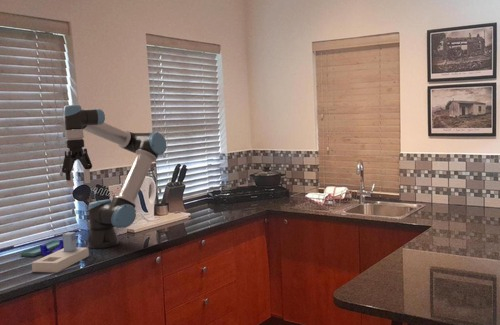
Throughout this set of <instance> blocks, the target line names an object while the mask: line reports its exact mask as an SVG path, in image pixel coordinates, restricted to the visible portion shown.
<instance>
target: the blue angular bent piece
mask: <svg viewBox="0 0 500 325" xmlns="http://www.w3.org/2000/svg"><path fill="white" fill-rule="evenodd" d="M59 240H60V243H59V246H58V247H57V248H55V249H53V250H50V251H49V250H48V249H47V246H46V245H44V244H45V243H42V244H40V250H41V254H40V255H41V256H44V257H45V256H47V255H50V254H52V253H54V252H56V251H58V250H61V249H63V248H64V245H63V238H62V239H59Z"/></svg>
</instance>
